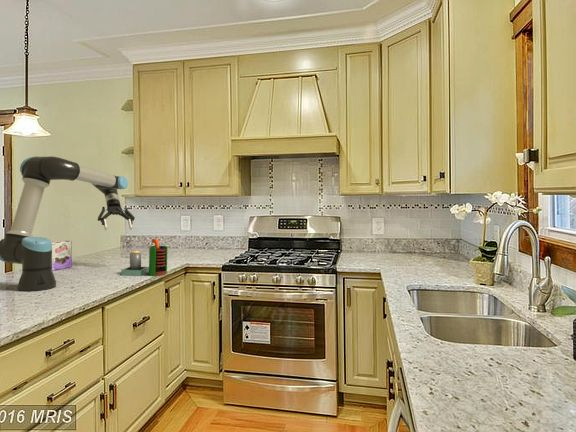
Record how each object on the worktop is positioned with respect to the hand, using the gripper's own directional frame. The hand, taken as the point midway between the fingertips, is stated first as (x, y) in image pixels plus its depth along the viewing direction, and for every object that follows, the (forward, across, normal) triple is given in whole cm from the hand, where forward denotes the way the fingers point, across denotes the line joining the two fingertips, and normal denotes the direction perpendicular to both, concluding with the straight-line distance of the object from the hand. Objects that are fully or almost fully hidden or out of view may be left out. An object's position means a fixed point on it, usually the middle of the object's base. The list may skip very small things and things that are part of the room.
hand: (118, 228), depth 222 cm
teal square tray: (+26, -6, -9) cm, 29 cm away
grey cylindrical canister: (+26, -6, -8) cm, 28 cm away
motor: (+32, -16, -3) cm, 36 cm away
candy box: (0, +27, -36) cm, 45 cm away
